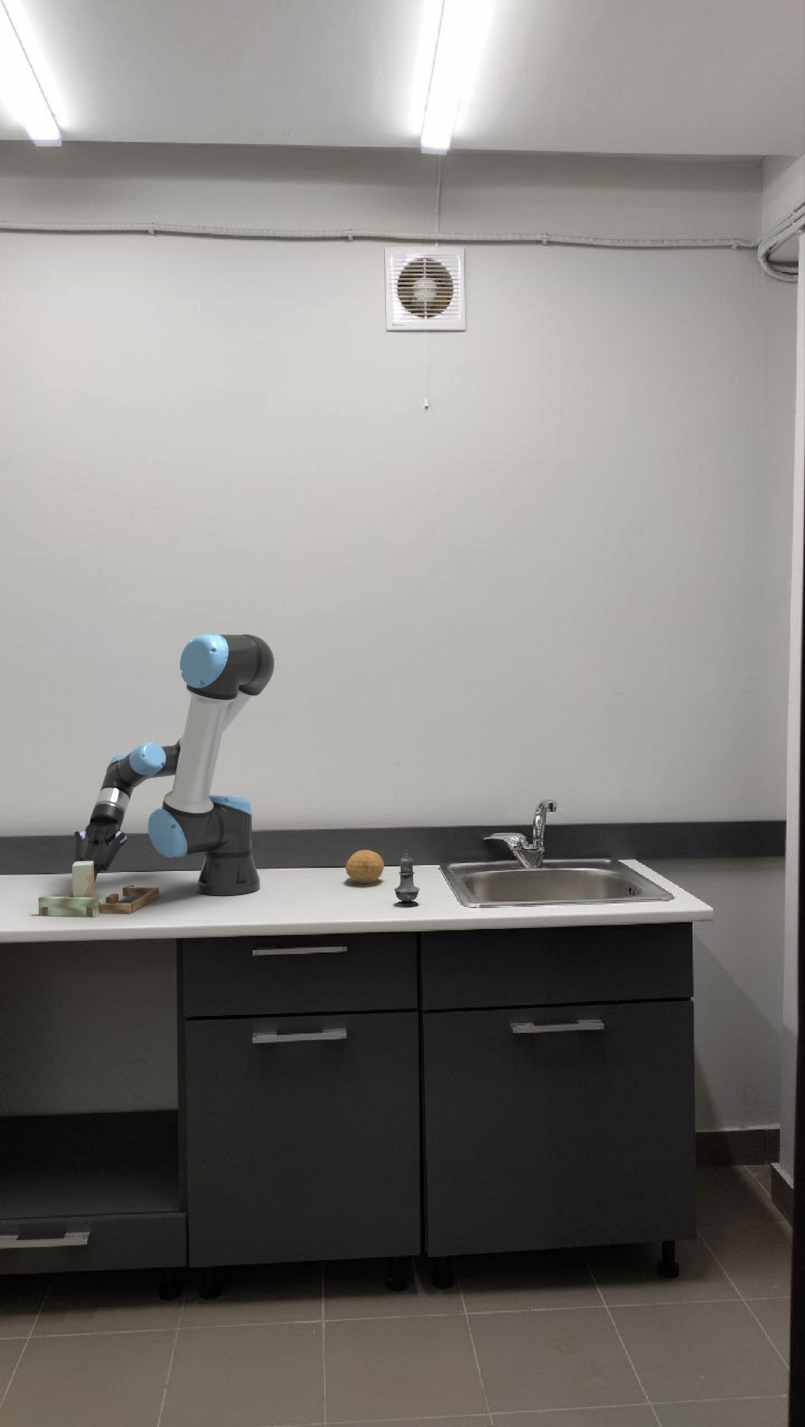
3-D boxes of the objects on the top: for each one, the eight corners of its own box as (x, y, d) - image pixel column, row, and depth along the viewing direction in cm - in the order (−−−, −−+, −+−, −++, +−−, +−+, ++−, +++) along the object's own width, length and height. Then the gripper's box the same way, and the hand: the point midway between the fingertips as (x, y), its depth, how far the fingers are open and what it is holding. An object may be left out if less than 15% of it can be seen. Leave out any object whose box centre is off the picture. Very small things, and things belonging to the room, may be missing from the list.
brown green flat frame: (163, 893, 269) (163, 877, 268) (125, 917, 245) (124, 899, 245) (84, 891, 272) (84, 875, 271) (38, 915, 248) (38, 898, 248)
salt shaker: (401, 908, 250) (400, 856, 249) (389, 903, 255) (389, 852, 254) (424, 905, 253) (423, 853, 252) (412, 900, 258) (411, 849, 257)
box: (92, 913, 249) (91, 865, 248) (72, 914, 249) (71, 865, 248) (95, 907, 254) (94, 860, 254) (76, 908, 254) (74, 861, 253)
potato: (382, 876, 286) (381, 845, 286) (386, 887, 272) (385, 855, 272) (344, 877, 285) (344, 846, 285) (346, 889, 271) (346, 856, 271)
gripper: (139, 820, 272) (113, 903, 257) (89, 819, 274) (60, 902, 259) (130, 802, 267) (103, 886, 251) (79, 801, 268) (49, 884, 253)
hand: (81, 894), depth 255 cm, fingers closed
